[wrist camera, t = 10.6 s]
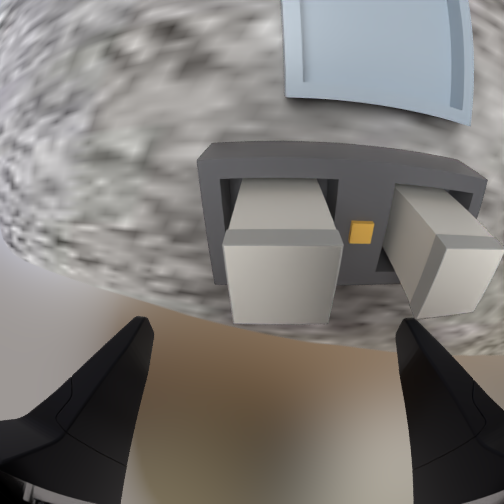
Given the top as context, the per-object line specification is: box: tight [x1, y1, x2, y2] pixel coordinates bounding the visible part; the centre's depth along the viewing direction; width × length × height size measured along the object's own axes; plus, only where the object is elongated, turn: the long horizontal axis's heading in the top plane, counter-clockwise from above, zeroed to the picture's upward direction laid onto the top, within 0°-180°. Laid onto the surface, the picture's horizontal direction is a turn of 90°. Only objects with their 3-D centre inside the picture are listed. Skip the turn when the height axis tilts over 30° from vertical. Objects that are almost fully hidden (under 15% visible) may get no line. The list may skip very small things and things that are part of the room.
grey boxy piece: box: [197, 141, 504, 319], centre depth 13 cm, size 16×8×8 cm, turn 92°
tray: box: [281, 0, 474, 126], centre depth 9 cm, size 11×11×2 cm
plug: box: [222, 178, 344, 325], centre depth 13 cm, size 4×4×7 cm
